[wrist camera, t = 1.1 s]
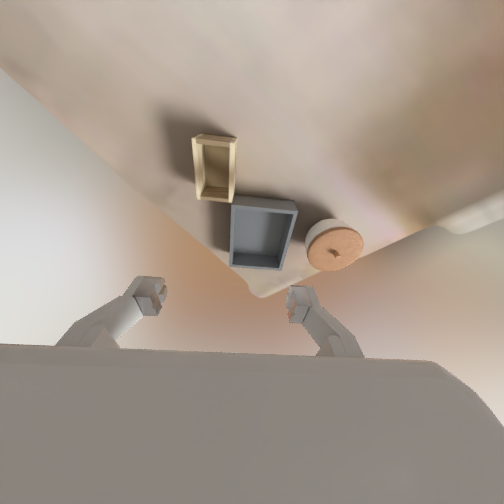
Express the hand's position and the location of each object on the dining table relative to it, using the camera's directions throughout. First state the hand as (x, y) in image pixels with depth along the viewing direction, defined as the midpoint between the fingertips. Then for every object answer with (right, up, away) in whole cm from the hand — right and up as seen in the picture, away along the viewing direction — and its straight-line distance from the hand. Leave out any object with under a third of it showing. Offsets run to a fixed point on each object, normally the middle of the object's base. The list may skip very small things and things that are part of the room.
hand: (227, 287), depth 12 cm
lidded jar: (+18, +7, +30) cm, 36 cm away
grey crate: (+3, +8, +30) cm, 31 cm away
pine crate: (-4, +18, +21) cm, 28 cm away
